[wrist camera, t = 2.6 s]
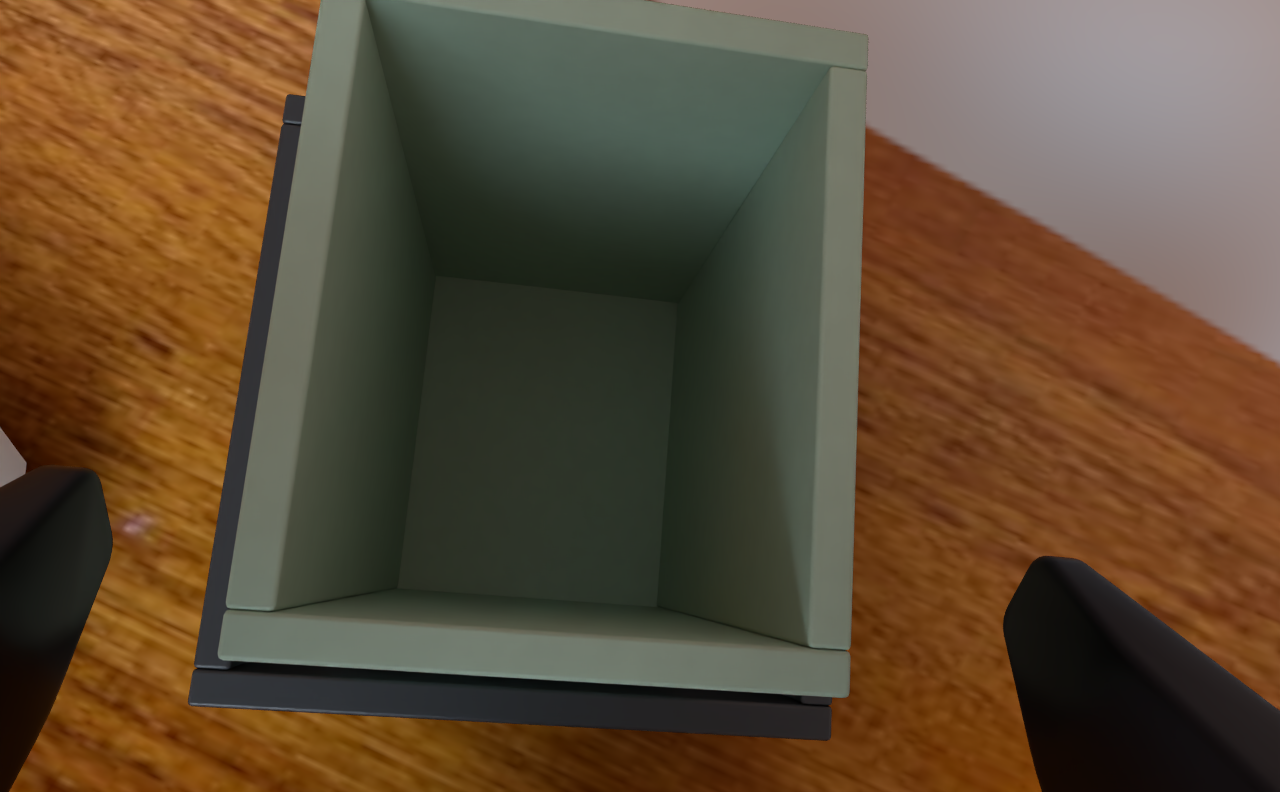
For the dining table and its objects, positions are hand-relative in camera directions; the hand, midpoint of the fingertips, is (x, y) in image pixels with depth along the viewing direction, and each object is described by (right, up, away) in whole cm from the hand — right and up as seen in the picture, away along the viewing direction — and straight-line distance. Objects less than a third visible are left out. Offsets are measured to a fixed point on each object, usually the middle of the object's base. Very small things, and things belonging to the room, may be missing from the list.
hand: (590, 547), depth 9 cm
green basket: (-2, 0, +12) cm, 12 cm away
